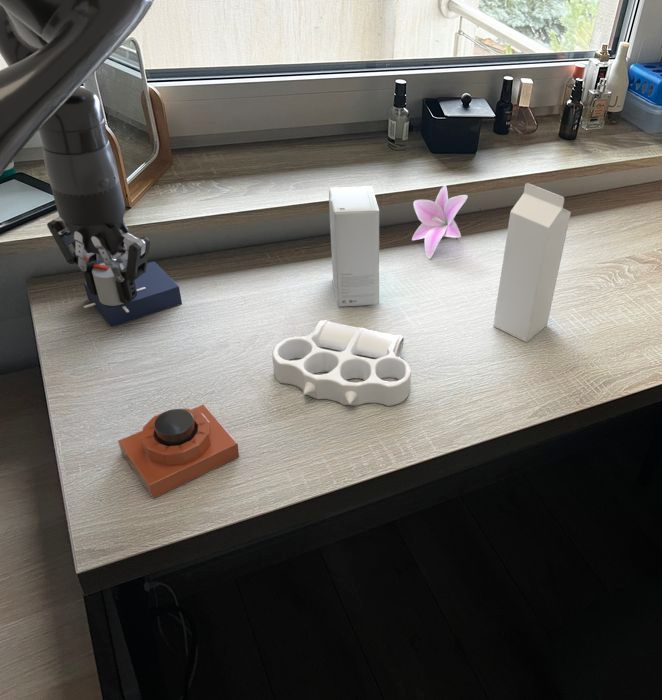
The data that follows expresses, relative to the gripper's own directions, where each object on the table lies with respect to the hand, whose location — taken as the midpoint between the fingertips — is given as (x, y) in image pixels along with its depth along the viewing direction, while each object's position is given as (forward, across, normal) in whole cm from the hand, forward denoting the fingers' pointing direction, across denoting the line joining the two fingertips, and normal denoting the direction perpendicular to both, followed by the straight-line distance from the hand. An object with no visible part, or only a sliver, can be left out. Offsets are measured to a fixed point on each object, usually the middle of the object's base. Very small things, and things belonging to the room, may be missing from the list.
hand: (113, 295), depth 97 cm
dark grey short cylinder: (0, -23, +18) cm, 29 cm away
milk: (+4, -52, -23) cm, 57 cm away
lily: (+4, -32, -39) cm, 51 cm away
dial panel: (+3, 0, -2) cm, 4 cm away
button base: (+4, -23, +18) cm, 30 cm away
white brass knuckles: (+4, -33, -2) cm, 33 cm away
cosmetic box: (+4, -26, -20) cm, 33 cm away
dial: (0, 0, 0) cm, 0 cm away
